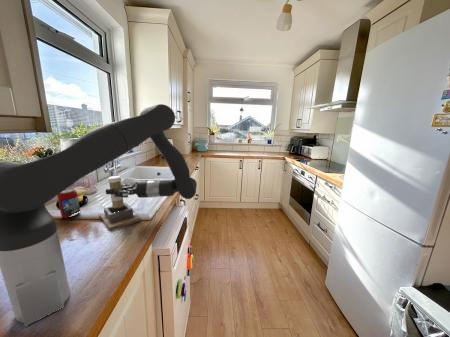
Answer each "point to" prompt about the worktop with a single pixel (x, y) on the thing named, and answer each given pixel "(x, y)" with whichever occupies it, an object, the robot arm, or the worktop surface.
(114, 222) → the socket board
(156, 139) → the robot arm
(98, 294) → the worktop surface
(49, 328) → the worktop surface
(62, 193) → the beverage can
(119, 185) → the sprinkles bottle
